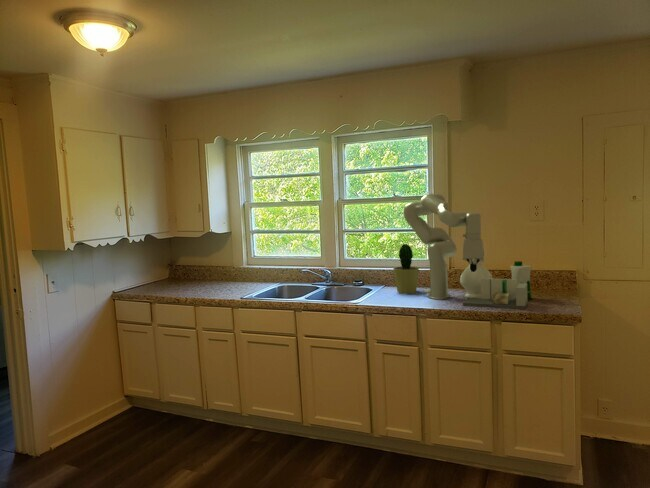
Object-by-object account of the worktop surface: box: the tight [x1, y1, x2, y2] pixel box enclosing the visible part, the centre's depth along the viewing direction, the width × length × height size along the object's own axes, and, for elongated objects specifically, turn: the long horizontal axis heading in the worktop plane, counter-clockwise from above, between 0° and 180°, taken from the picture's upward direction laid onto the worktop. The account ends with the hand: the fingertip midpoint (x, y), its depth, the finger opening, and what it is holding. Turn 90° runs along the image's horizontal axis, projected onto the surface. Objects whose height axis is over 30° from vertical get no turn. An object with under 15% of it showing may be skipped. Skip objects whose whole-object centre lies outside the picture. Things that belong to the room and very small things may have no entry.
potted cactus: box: [392, 243, 419, 295], centre depth 298 cm, size 15×15×30 cm
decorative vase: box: [459, 257, 494, 298], centre depth 277 cm, size 18×18×25 cm
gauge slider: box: [493, 282, 510, 304], centre depth 253 cm, size 7×10×9 cm
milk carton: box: [509, 260, 533, 301], centre depth 264 cm, size 9×9×20 cm
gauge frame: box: [462, 278, 528, 310], centre depth 254 cm, size 30×13×12 cm, turn 62°
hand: (473, 271), depth 257 cm, fingers closed
